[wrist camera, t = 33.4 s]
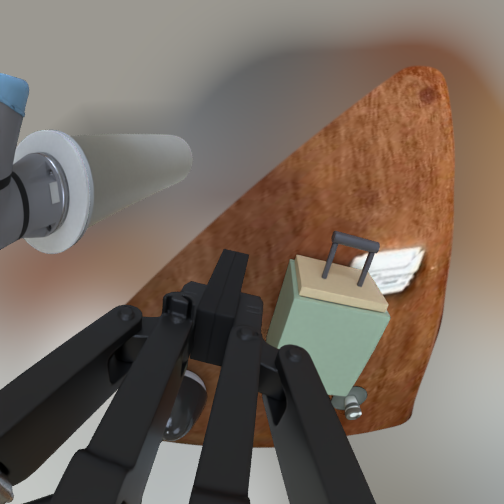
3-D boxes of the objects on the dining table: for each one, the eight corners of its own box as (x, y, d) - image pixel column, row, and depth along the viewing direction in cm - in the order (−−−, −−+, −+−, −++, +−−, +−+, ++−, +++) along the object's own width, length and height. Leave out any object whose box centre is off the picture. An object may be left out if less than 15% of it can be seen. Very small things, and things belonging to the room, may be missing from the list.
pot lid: (311, 396, 53) (313, 415, 49) (364, 370, 50) (370, 388, 45) (337, 421, 56) (340, 438, 52) (385, 398, 53) (390, 415, 48)
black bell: (154, 379, 55) (130, 434, 41) (173, 352, 52) (147, 412, 37) (196, 402, 57) (180, 458, 42) (220, 378, 53) (205, 440, 39)
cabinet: (290, 258, 43) (294, 298, 32) (367, 276, 43) (391, 317, 32) (266, 336, 48) (263, 385, 38) (335, 348, 49) (346, 396, 38)
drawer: (308, 213, 40) (318, 235, 30) (381, 233, 40) (408, 259, 30) (273, 329, 47) (272, 370, 38) (337, 341, 47) (348, 381, 38)
